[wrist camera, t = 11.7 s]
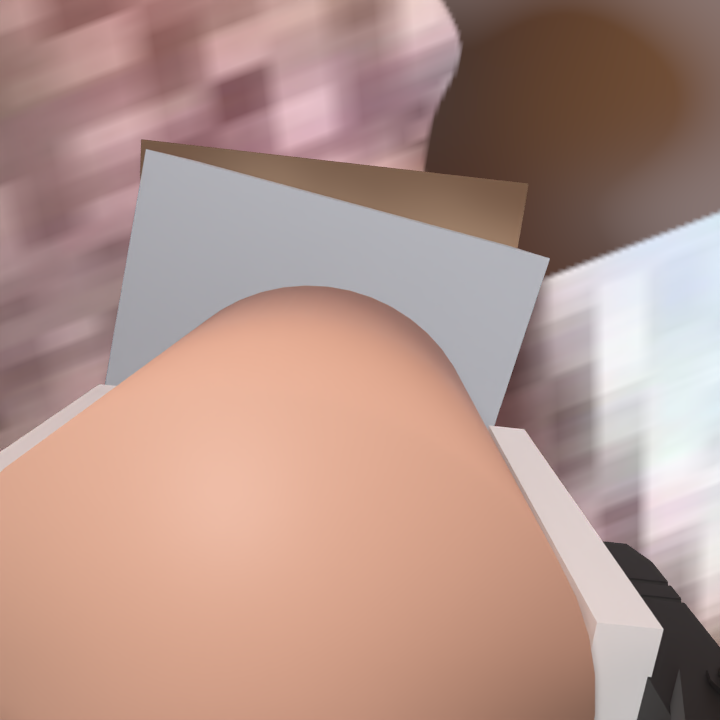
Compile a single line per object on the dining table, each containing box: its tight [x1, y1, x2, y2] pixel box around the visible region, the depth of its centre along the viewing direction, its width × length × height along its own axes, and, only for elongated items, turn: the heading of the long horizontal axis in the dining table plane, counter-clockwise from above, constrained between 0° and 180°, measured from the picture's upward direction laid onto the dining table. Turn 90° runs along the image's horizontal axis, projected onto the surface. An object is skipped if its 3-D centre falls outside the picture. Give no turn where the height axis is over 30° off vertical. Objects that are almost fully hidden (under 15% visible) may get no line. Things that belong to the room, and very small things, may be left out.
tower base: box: [140, 139, 528, 248], centre depth 25 cm, size 13×13×5 cm
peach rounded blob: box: [0, 286, 595, 720], centre depth 11 cm, size 8×8×8 cm
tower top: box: [105, 149, 550, 429], centre depth 21 cm, size 11×11×5 cm
